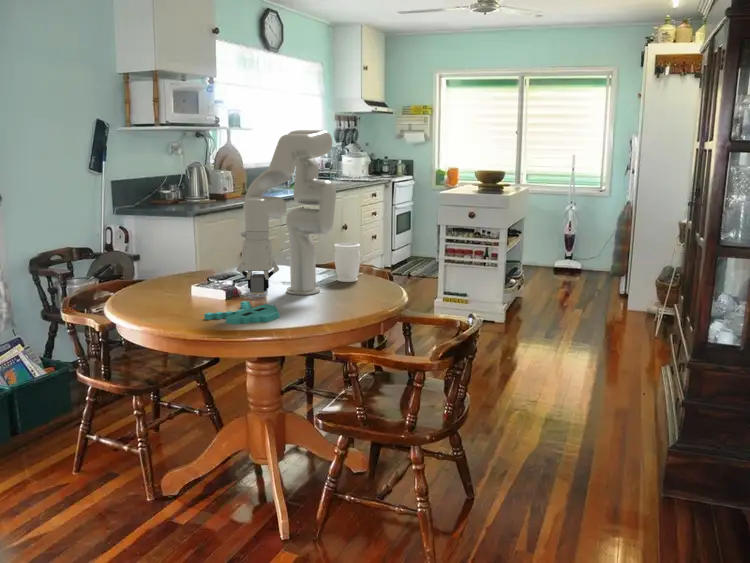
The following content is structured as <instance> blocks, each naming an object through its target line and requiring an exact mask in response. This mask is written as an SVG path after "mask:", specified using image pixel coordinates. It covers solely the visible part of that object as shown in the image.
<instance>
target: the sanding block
mask: <svg viewBox="0 0 750 563" xmlns="http://www.w3.org/2000/svg"><path fill="white" fill-rule="evenodd" d="M264 278H265V275H264V273H252V275H251V292H250V295H265V292H264Z"/></svg>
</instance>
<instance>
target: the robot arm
mask: <svg viewBox="0 0 750 563" xmlns="http://www.w3.org/2000/svg"><path fill="white" fill-rule="evenodd" d="M276 144H277V145H276V147H275V150H274V152H273V156H272V158H271V161H270V164H269V166H268V168H267V169H266V170H264V171H263V172H262V173H260V174H259V175H258V176H257V177H256V178H255V179H253V181H252V182H251V183H250V185H249V186H248V189H247V191H246V194H245V197H244V200H243V205H242V207H243V212H244V224H245V225H244V227H245V228H244V230H245V231H244V232H240V237H241V238H242V237H243V238H245V239H244V240H243V241H242V246H241V261H240V263H239V264H238V266H237V268H236V272H238V273H240V274H241V275H242V276H243V277H244V278H245V279H246V280H247V289H248V290H249V293H251V276H252V275H253V272H263V274H264V275H265V278H264V293H265V292H267V290H268V289H269V288H270V285H269V284H270V282H269V281H270V280H269V279H270V278H271V277H272V276H273V275H275V274H276V273H278V272H279V271H280V268H279V266H278V264H276V262H275V260H274V250H273V244H272V240H271V239H269V238H270V236H269V235H270V232H269V225H270V224H269V220H279V219H281V218H282V217H283V216H284V215H285V213H286V212H287V205H286V202H285V201H284V198H281V197H278V196H274V195H273V196H270V195H269V196H267V195H264V193H266V192H267V191H268V190H270V189H272V188H275V187H276V186H279V185H282V184H284V183H287V182H289V181H290V180H292V178H293V175H294V173H295V176H294V183H293V185H294V186H293V200H294V203H296V204H298V205H303V206H318V207H319V208H311V207H309V208H303V207H298V208H293V209H291V210H290V211H288V213H287V215H286V221H285V222H286V227H287V232H288V238H289V239H288V240H289V266H290V267H289V269H290V273H289V274H290V286H288V287H286V293H288V294H290V295H298V296H299V295H300V296H304V295H305V296H306V295H308V296H309V295H314V294H317V293H320V291H321V288H320V287H319V286H317V279H316V278H317V277H316V276H317V273H316V271H317V270H316V244H315V242H314V239H313V238H312V236H311V235H314V236H315V235H316V236H326V235H329V234H330V233H331V232H332V230H333V227H334V226H333V225H334V220H335V210H336V201H337V200H336V199H337V192H336V187H335V185H334V183H333V182H332V181H331V180H326V179H319V169H320V167H319V165H318V164H319V163H318V162H317V160H316V159H317V158H320V157H323V156H324V155H325V156H326V155H328V153H329V152H330V151H331V149H332V148H333V137H332V135H331V133H330V132H329V131H327V130H323V129H321V130H320V129H316V130H315V129H312V130H311V129H299V130H298V129H297V130H293V131H292V130H291V131H290V132H289V133H288V134H283V135H282V136H281V137H280V138H278V141H277V143H276Z"/></svg>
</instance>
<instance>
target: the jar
mask: <svg viewBox="0 0 750 563" xmlns="http://www.w3.org/2000/svg"><path fill="white" fill-rule="evenodd" d="M334 248H335V250H334V256H333V257H334V265H335V271H336V274H337V276H338V277H337V281H339V282H342V283H353V282H357V281H358V277H357V276H358V274H359V272H360V266H361V252H360V248H361V244H360V243H359V242H358V243H356V242H337V243H334Z"/></svg>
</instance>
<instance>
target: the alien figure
mask: <svg viewBox="0 0 750 563" xmlns="http://www.w3.org/2000/svg"><path fill="white" fill-rule="evenodd" d="M240 308H241V309H238V310H236V311H231V310H228V311H225V312H223V311H216V312H207V313H204V314H203V315H204V320H208V321H210V320H213V319H214V320H216V319H217V320H222V319H225V323H226V324H232V325H239V324H245V325H247V324H250V323H253V324H254V323H255V324H258V323H262V322H263V323H269V322H272V321H274V320H277V319H280V318H281V316H280V312H279V310H278V308H277V307H276V305H274V304H266V303H265V304H261V305H258V306H255V307H252V305H251V302H250V301H247V300H244V301H240Z"/></svg>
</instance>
